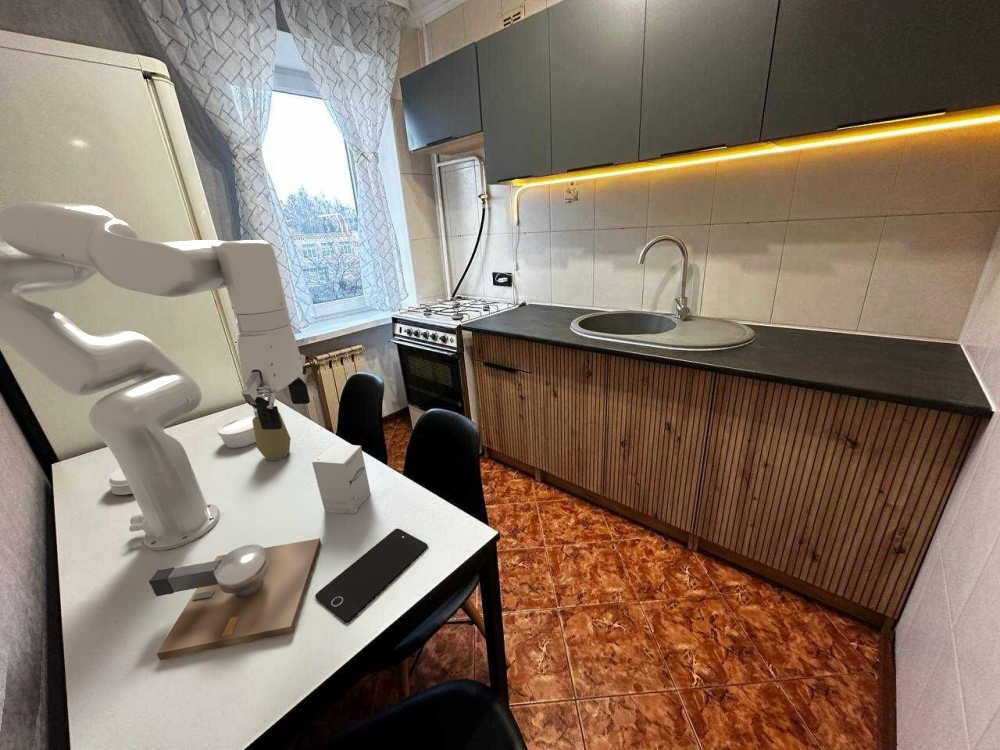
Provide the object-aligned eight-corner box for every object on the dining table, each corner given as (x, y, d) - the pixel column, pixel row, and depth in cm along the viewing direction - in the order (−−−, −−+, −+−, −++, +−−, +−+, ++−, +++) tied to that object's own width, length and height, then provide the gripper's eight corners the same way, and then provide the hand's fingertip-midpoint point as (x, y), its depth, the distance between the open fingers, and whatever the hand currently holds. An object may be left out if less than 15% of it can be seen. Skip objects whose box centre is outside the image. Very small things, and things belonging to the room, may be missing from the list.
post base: (159, 660, 56) (149, 641, 55) (219, 562, 73) (212, 545, 71) (293, 633, 59) (286, 614, 57) (321, 544, 75) (316, 528, 74)
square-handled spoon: (275, 554, 68) (270, 540, 67) (260, 589, 62) (254, 573, 60) (173, 572, 66) (166, 558, 64) (146, 610, 59) (138, 594, 58)
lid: (103, 504, 91) (93, 486, 90) (125, 475, 102) (117, 459, 101) (168, 488, 96) (161, 470, 94) (183, 462, 107) (177, 446, 105)
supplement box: (354, 515, 83) (342, 464, 78) (323, 511, 84) (310, 461, 80) (372, 492, 89) (361, 444, 85) (343, 490, 91) (331, 443, 86)
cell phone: (314, 599, 65) (313, 595, 64) (397, 530, 78) (397, 527, 78) (347, 626, 60) (346, 622, 59) (429, 548, 73) (429, 544, 73)
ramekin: (242, 430, 122) (237, 415, 121) (274, 431, 121) (270, 416, 119) (213, 450, 112) (207, 433, 110) (248, 451, 110) (242, 434, 109)
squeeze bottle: (300, 451, 108) (283, 392, 102) (271, 466, 102) (251, 404, 96) (283, 444, 113) (267, 387, 106) (255, 458, 106) (235, 398, 100)
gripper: (271, 310, 72) (292, 395, 78) (202, 335, 55) (235, 440, 62) (311, 309, 71) (329, 394, 78) (254, 334, 55) (282, 439, 61)
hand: (287, 415), depth 70 cm, fingers open, 9 cm apart
